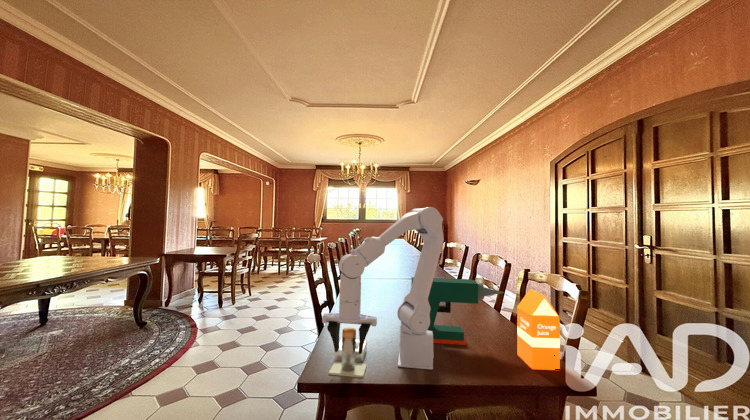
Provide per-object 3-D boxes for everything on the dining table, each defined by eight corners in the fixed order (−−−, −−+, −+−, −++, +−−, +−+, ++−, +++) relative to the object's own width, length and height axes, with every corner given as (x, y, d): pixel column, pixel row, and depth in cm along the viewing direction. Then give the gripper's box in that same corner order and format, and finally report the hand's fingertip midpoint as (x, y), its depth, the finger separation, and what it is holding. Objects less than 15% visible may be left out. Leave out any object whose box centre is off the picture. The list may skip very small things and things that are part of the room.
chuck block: (366, 350, 88) (366, 340, 88) (362, 362, 80) (362, 351, 80) (341, 348, 89) (341, 338, 89) (334, 360, 81) (334, 349, 81)
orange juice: (542, 355, 87) (542, 289, 88) (560, 370, 78) (560, 296, 79) (516, 354, 87) (516, 288, 88) (531, 369, 78) (531, 295, 79)
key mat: (366, 365, 78) (366, 363, 78) (363, 377, 72) (363, 375, 72) (334, 363, 79) (334, 361, 79) (328, 374, 73) (328, 372, 73)
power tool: (501, 338, 99) (501, 280, 100) (508, 347, 92) (509, 285, 93) (409, 333, 102) (410, 276, 103) (409, 341, 95) (410, 280, 96)
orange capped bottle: (356, 365, 77) (357, 327, 78) (353, 372, 74) (354, 333, 74) (343, 364, 78) (344, 327, 78) (340, 371, 74) (341, 332, 75)
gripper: (378, 297, 80) (377, 346, 79) (328, 294, 81) (326, 342, 81) (375, 304, 73) (374, 358, 72) (320, 301, 74) (318, 354, 74)
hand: (348, 351), depth 76 cm, fingers open, 6 cm apart
